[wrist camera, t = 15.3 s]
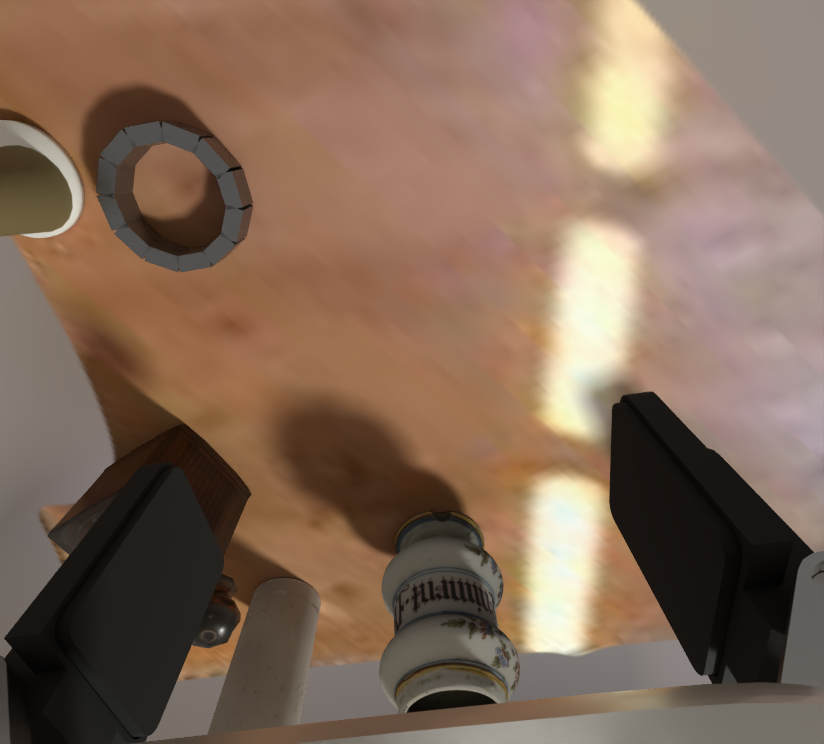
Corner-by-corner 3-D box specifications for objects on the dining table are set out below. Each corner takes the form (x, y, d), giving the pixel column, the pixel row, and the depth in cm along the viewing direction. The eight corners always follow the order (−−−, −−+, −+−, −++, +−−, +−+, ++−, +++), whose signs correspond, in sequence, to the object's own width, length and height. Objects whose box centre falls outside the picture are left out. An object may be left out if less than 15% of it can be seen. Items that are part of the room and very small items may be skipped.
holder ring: (92, 137, 34) (71, 137, 32) (225, 111, 34) (213, 110, 31) (149, 271, 39) (133, 280, 36) (267, 251, 38) (259, 258, 36)
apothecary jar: (492, 497, 50) (534, 671, 34) (494, 577, 55) (530, 760, 39) (377, 506, 50) (364, 683, 34) (390, 585, 56) (384, 769, 40)
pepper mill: (182, 535, 52) (83, 717, 36) (104, 465, 47) (-49, 637, 31) (298, 476, 48) (244, 648, 32) (225, 395, 44) (121, 546, 28)
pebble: (-54, 131, 34) (-64, 131, 33) (51, 110, 34) (44, 110, 33) (7, 243, 38) (-1, 245, 37) (103, 226, 37) (97, 228, 36)
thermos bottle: (321, 623, 59) (258, 990, 34) (255, 621, 58) (142, 990, 33) (320, 578, 55) (250, 951, 30) (250, 575, 55) (120, 950, 30)
